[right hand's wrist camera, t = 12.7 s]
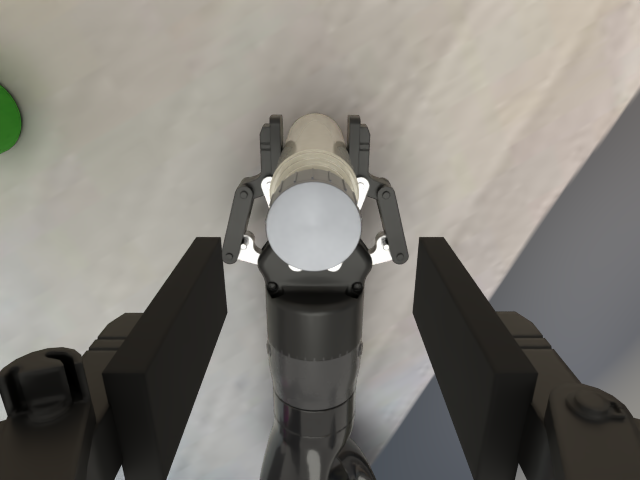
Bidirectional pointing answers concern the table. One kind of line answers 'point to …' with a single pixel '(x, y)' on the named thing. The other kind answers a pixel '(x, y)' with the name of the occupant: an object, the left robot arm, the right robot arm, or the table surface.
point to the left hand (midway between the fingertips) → (315, 117)
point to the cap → (313, 220)
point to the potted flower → (8, 121)
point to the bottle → (315, 151)
